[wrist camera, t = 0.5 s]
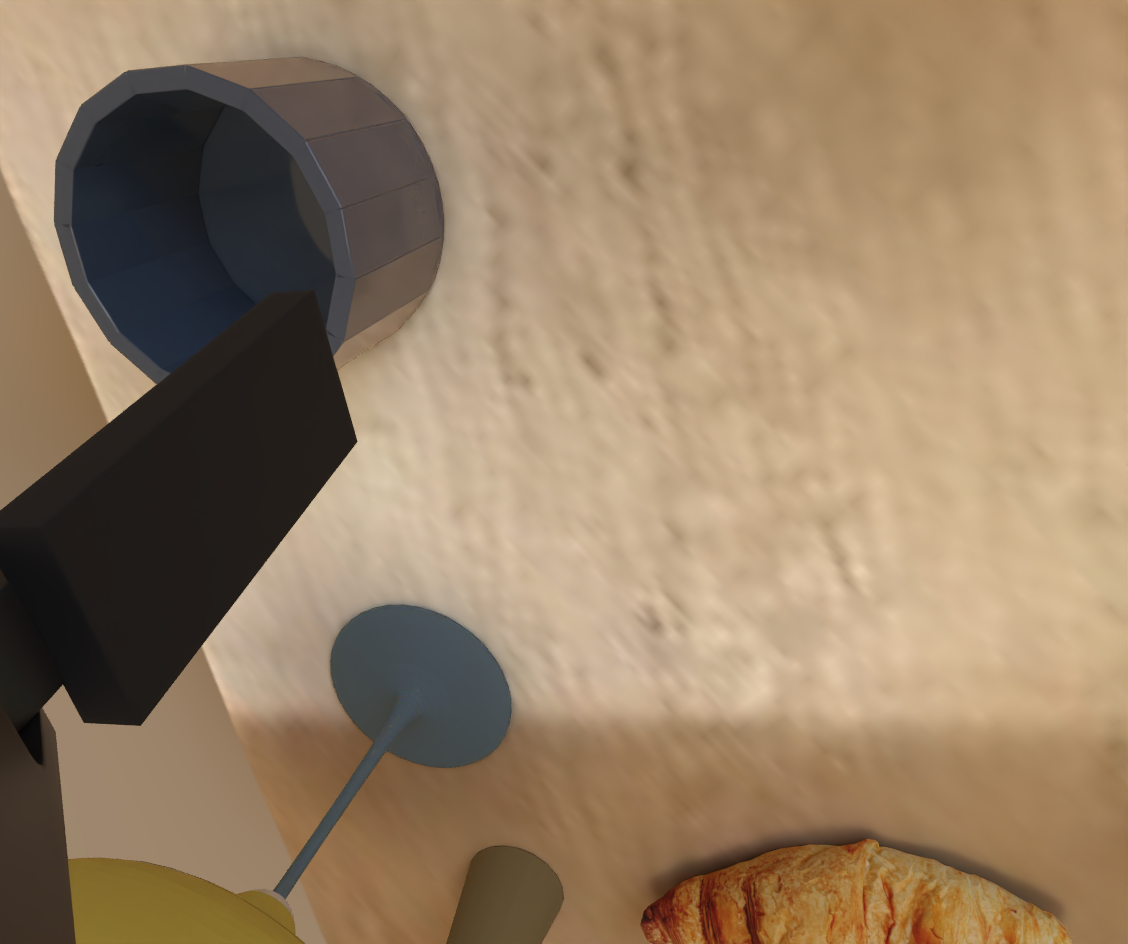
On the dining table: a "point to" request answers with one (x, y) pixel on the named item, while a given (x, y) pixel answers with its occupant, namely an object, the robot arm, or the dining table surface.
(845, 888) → the croissant
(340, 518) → the dining table surface
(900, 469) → the dining table surface
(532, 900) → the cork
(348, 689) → the cocktail glass
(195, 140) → the canister
